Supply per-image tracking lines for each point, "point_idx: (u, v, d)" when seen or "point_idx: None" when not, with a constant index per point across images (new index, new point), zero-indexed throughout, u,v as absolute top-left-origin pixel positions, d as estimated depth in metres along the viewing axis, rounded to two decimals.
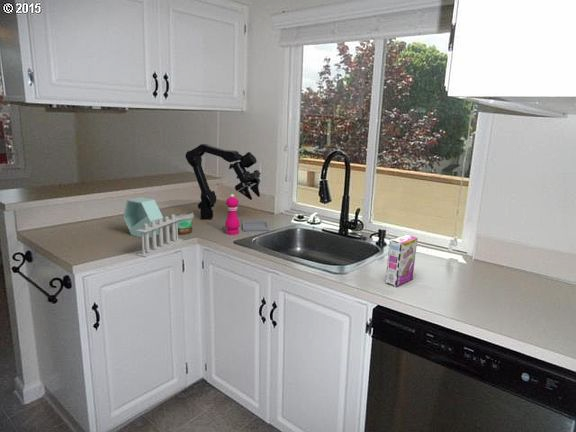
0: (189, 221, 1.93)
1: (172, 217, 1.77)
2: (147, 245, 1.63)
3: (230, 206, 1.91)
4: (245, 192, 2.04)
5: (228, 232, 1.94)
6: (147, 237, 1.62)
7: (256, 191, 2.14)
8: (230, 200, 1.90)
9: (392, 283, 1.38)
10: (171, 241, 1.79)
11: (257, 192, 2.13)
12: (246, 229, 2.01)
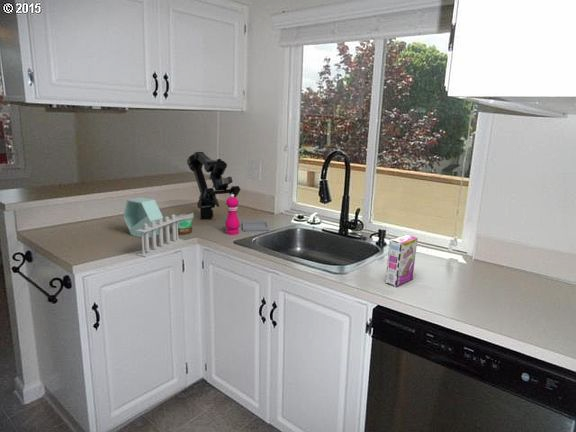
0: (189, 221, 1.93)
1: (172, 217, 1.77)
2: (147, 245, 1.63)
3: (230, 206, 1.91)
4: (213, 199, 1.98)
5: (228, 232, 1.94)
6: (147, 237, 1.62)
7: None
8: (230, 200, 1.90)
9: (392, 283, 1.38)
10: (171, 241, 1.79)
11: None
12: (246, 229, 2.01)
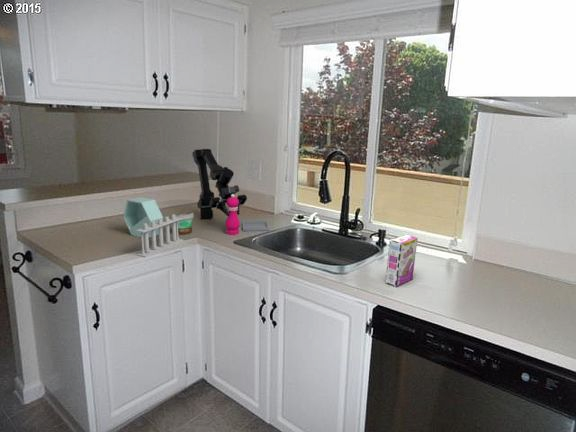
0: (189, 221, 1.93)
1: (172, 217, 1.77)
2: (147, 245, 1.63)
3: (230, 206, 1.91)
4: (223, 208, 1.93)
5: (228, 232, 1.94)
6: (147, 237, 1.62)
7: None
8: (231, 200, 1.90)
9: (392, 283, 1.38)
10: (171, 241, 1.79)
11: (237, 210, 1.96)
12: (246, 229, 2.01)
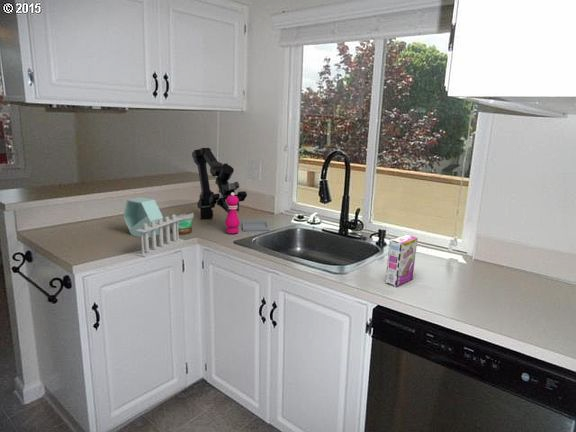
0: (189, 221, 1.93)
1: (173, 217, 1.77)
2: (146, 245, 1.63)
3: (230, 204, 1.91)
4: (223, 205, 1.93)
5: (228, 230, 1.94)
6: (146, 237, 1.62)
7: None
8: (231, 198, 1.90)
9: (392, 283, 1.38)
10: (172, 241, 1.79)
11: None
12: (246, 229, 2.01)
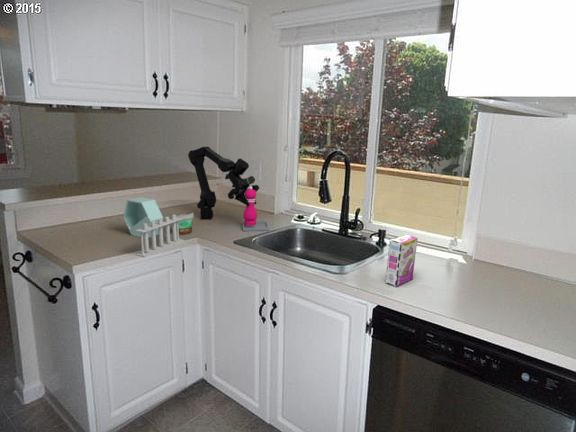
0: (189, 221, 1.93)
1: (173, 217, 1.77)
2: (146, 245, 1.63)
3: (250, 198, 1.98)
4: (242, 199, 1.99)
5: (248, 223, 2.01)
6: (146, 237, 1.62)
7: None
8: (251, 192, 1.97)
9: (392, 283, 1.38)
10: (172, 241, 1.79)
11: None
12: (246, 229, 2.01)
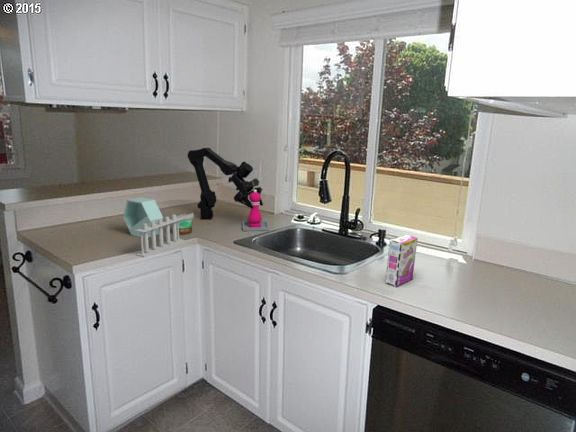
0: (189, 221, 1.93)
1: (173, 217, 1.77)
2: (146, 245, 1.63)
3: (255, 201, 2.02)
4: (245, 201, 2.01)
5: (253, 226, 2.05)
6: (146, 237, 1.62)
7: (259, 200, 2.09)
8: (256, 195, 2.01)
9: (392, 283, 1.38)
10: (172, 241, 1.79)
11: (259, 201, 2.08)
12: (246, 229, 2.01)
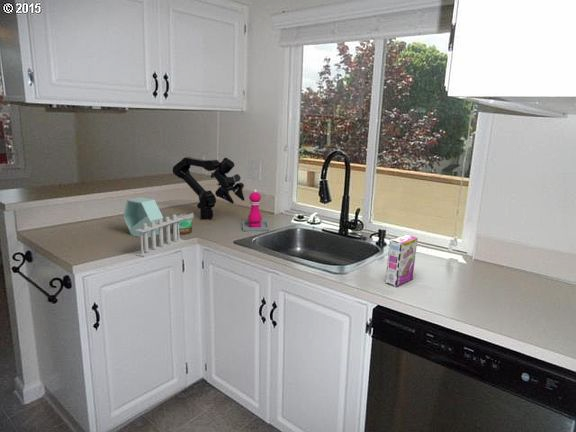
0: (189, 221, 1.93)
1: (173, 217, 1.77)
2: (146, 245, 1.63)
3: (255, 201, 2.02)
4: (226, 197, 2.06)
5: (253, 226, 2.05)
6: (146, 237, 1.62)
7: (240, 195, 2.15)
8: (256, 195, 2.01)
9: (392, 283, 1.38)
10: (172, 241, 1.79)
11: (241, 196, 2.14)
12: (246, 229, 2.01)
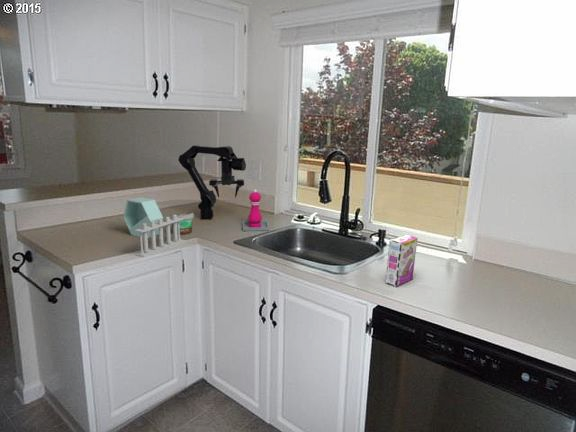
0: (189, 221, 1.93)
1: (173, 217, 1.76)
2: (146, 245, 1.63)
3: (255, 201, 2.02)
4: None
5: (253, 226, 2.05)
6: (146, 237, 1.62)
7: (235, 192, 2.18)
8: (256, 195, 2.01)
9: (392, 283, 1.38)
10: (173, 241, 1.79)
11: (235, 193, 2.17)
12: (246, 229, 2.01)
